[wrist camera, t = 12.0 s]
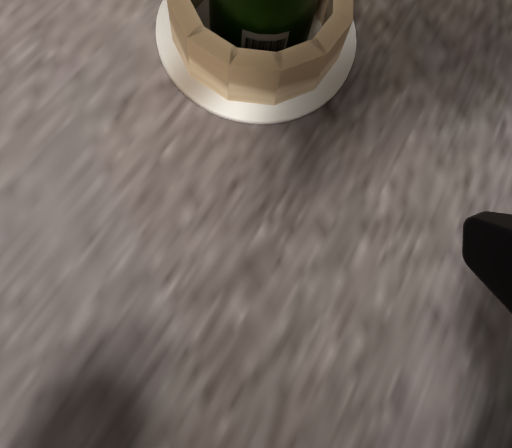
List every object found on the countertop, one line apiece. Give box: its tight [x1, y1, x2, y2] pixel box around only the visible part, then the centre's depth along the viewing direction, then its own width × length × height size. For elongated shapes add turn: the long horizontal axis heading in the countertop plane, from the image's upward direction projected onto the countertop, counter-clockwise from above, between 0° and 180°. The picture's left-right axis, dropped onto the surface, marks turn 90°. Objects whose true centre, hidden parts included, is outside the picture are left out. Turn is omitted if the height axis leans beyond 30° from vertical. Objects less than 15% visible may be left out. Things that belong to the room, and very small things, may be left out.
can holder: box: [156, 0, 357, 125], centre depth 25 cm, size 11×11×3 cm
